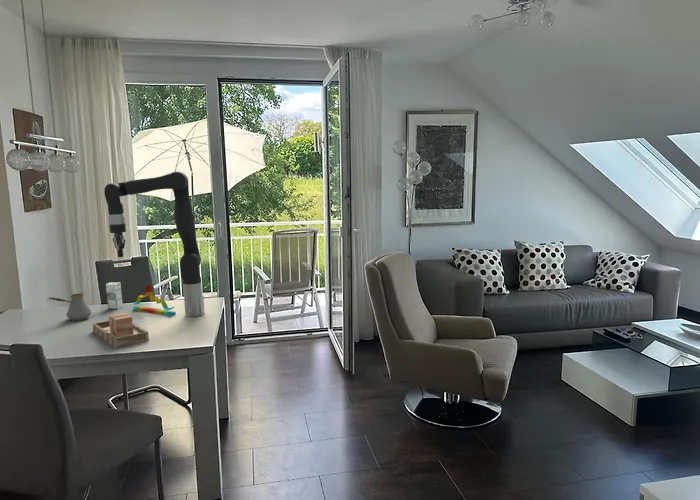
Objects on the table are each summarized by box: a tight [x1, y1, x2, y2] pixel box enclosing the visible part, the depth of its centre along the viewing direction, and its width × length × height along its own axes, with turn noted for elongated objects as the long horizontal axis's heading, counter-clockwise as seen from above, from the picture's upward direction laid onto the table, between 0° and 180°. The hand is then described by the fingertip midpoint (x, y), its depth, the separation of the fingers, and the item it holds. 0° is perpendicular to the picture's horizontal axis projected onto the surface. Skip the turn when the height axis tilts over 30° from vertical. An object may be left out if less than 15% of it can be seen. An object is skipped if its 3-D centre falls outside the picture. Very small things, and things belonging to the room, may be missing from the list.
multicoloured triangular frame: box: [132, 284, 177, 317], centre depth 267 cm, size 30×3×15 cm, turn 61°
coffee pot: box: [46, 293, 92, 322], centre depth 254 cm, size 21×12×15 cm, turn 156°
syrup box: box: [105, 281, 124, 310], centre depth 279 cm, size 6×6×14 cm
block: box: [108, 312, 134, 337], centre depth 223 cm, size 10×7×8 cm
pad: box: [110, 328, 140, 338], centre depth 224 cm, size 10×12×2 cm
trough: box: [91, 320, 150, 349], centre depth 228 cm, size 33×14×4 cm, turn 42°
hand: (120, 256), depth 252 cm, fingers closed
